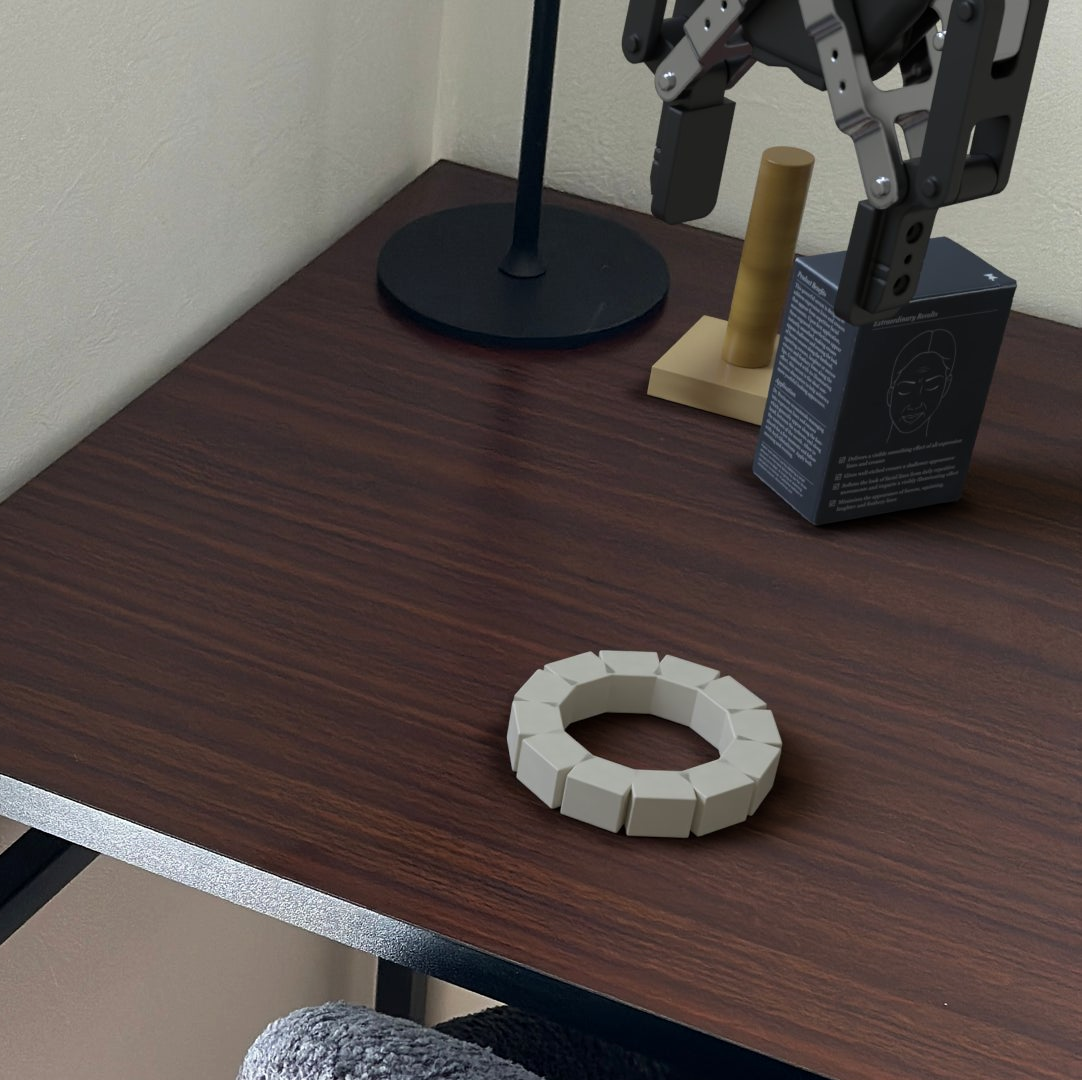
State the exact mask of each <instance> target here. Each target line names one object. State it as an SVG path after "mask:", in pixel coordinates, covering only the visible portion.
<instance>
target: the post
mask: <svg viewBox="0 0 1082 1080" xmlns="http://www.w3.org/2000/svg"><path fill="white" fill-rule="evenodd" d="M815 163H816V157H815V155H814V154H813V153H811V152H810V151H808V150H805V149H803V148H800V147H795V146H787V145H786V146H785V145H779V146H770V147H767V148H765V149H764V150H763V151H762V153H761V158H760V162H759V168H758V173H757V177H756V182H755V185H754V186H755V187H754V192H753V197H752V202H751V207H750V212H749V216H748V221H747V226H746V231H745V236H744V241H743V247H742V250H741V257H740V259H739V260H740V261H739V266H738V270H737V274H736V275H737V276H736V280H735V286H734V290H733V295H732V299H731V305H730V310H729V314H728V320H726V319H725V320H724V319H721V318H716V317H714V316H710V315H705V314H704V315H702V316H701V317H700V319H698V320H697V321H696V322H695V323H694V325H692V326H691V327H690V328H689V330H688V331H686V332H685V333H684V334H683V335H682V336H681V337H680V338H679V339H678V340H677V341H676V343H674V344H673V345H672V346H671V347H670V348H669V349H668V350H667V351H666V352H665V353H664V354H663V355H662V356H661V357H660V358H659V359H658V360H657V361H656V362H655V363H654V364H653V365H652V366H651V370H650V376H649V382H648V387H647V393H646V394H647V395H648V396H651V397H654V398H658V399H662V400H665V401H670V402H674V403H677V404H680V405H685V406H688V407H692V408H696V409H699V410H703V411H706V412H710V413H713V414H716V415H721V416H723V417H724V416H725V417H728V418H731V419H735V420H739V421H742V422H745V423H750V424H753V425H757V426H760V427H761V424H762V419H763V414H764V410H765V404H766V400H767V396H768V391H769V386H770V381H771V377H772V372H773V367H774V362H775V357H776V353H777V348H778V343H779V338H780V333H779V334H778V332H779V327H780V323H781V318H782V314H783V309H784V306H785V305H784V304H785V301H786V296H787V292H788V286H789V283H790V282H789V281H790V277H791V273H792V269H793V265H794V259H795V254H796V250H797V245H798V241H799V240H798V239H799V236H800V231H801V227H802V222H803V217H804V213H805V208H806V204H807V201H808V195H809V191H810V186H811V182H812V176H813V172H814V168H815Z"/></svg>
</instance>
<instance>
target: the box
mask: <svg viewBox="0 0 1082 1080" xmlns="http://www.w3.org/2000/svg"><path fill="white" fill-rule="evenodd" d="M846 253H847V249H846V250H840V251H834V252H827V253H826V252H825V253H819V254H813V255H805V256H799V257H796V258H795V261H794V264H793V265H794V266H793V272H792V276H791V277H792V278H791V282H790V286H789V291H788V296H787V301H786V305H785V311H784V315H783V321H782V325H781V329H780V333H779V335H780V338H779V343H778V348H777V353H776V357H775V362H774V367H773V372H772V377H771V381H770V386H769V391H768V396H767V400H766V404H765V410H764V414H763V419H762V424H761V426H760V429H759V433H758V438H757V443H756V448H755V453H754V458H753V462H752V467H751V470H752V472H753V474H754V475H755V476H756V477H758V478H759V479H760V481H761V482H762V483H764V484H766V486H767V487H769V488H770V489H771V490H772V491H773V492H774V493H776V495H778V496H779V497H780V498H781V499H783V500H784V501H785V502H786V503H787V504H788V505H789V506H791V507H792V509H793V510H795V511H796V512H797V513H798V514H800V515H801V517H802V518H803V519H805V520H807V522H809V523H811V524H812V525H813V526H823V525H827V524H832V523H838V522H843V521H850V520H854V519H860V518H864V517H865V518H866V517H872V516H877V515H880V514H881V515H883V514H888V513H893V512H898V511H904V510H910V509H916V508H921V507H927V506H933V505H937V504H938V505H939V504H944V503H945V504H946V503H950V502H957V501H959V500H960V499H961V497H962V495H963V489H964V485H965V483H966V482H965V481H966V478H967V474H968V471H969V468H970V464H971V461H972V460H971V459H972V456H973V452H974V451H973V450H974V448H975V445H976V441H977V438H978V434H979V429H980V426H981V423H982V418H983V415H984V412H985V407H986V404H987V399H988V395H989V392H990V387H991V385H992V380H993V378H994V373H995V370H996V367H997V362H998V359H999V356H1000V355H999V354H1000V350H1001V347H1002V344H1003V341H1004V336H1005V332H1006V328H1007V324H1008V320H1009V317H1010V313H1011V309H1012V306H1013V302H1014V297H1015V294H1016V291H1017V288H1018V284H1017V283H1018V282H1017V279H1015V278H1013V277H1011V276H1009V275H1007V274H1005V273H1004V272H1002V271H1001V270H999V268H996V267H995V266H993V265H992V264H990V263H989V262H987V261H986V260H985V259H983V258H982V257H981V256H979V255H977V254H975V253H974V252H973V251H971V250H970V249H968V248H966V247H964V246H963V245H962V244H960V243H958V242H956V241H954V240H953V239H952V238H949V237H947V236H945V235H943V236H937V237H930V240H929V244H928V248H927V252H926V256H925V259H924V260H923V262H924V263H923V267H922V271H921V272H920V279H919V283H918V286H917V290H916V293H915V294H914V296H913V297H912V299H911V300H910V302H909V303H908V305H907V306H903V307H901V308H900V310H899V311H898V312H897V313H896V314H895V315H894V316H892V317H891V318H888V319H884V320H881V321H877V322H873V323H869V324H865V325H861V326H857V327H856V326H852V325H851V324H849V323H847V322H845V321H843V320H842V319H840V318H838V317H836V316H835V314H834V303H835V299H836V295H837V291H838V286H839V282H840V278H841V274H842V269H843V265H844V261H845V257H846Z"/></svg>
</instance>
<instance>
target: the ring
mask: <svg viewBox="0 0 1082 1080" xmlns="http://www.w3.org/2000/svg"><path fill="white" fill-rule="evenodd" d="M767 706H768V704H767V703H766V702H765V701H764V700H762V699H761V698H760V697H758V696H757V695H756V694H754V693H753V692H752V691H750V689H748V688H746V687H745V686H744V685H743V684H741V683H740V682H738V680H736V679H735V678H733V677H732V676H731V675H726V676H722V677H721V670H717V669H715V668H711V667H708V666H705V665H702V664H699V663H696V662H692V661H689V660H686V659H683V658H680V657H677V656H674V655H671V654H666V655H665V656H664V657H663V658H662V660H661V661H660V658H659V654H658V652H656V651H633V650H603V649H601V650H599V652H598V655H597V654H595V653H594V652H592V651H587V652H583V653H579V654H576V655H573V656H570V657H567V658H562V659H560V660H556V661H553V662H550V663H547V664H545V665H544V667H543V669H540V668H539V669H537V670H536V671H535V672H534V673H533V674H532V675H531V676H530V677H529V678H528V680H527V681H526V682H525V683H524V684H523V685H522V686H521V687H520V689H518V691H517V692H516V693H515V694H514V697H513V701H512V703H511V710H510V716H509V722H508V728H507V734H506V739H507V740H506V741H507V747H508V752H509V759H510V764H511V770H512V772H514V773H515V772H516V780H518V781H519V782H520V783H522V784H523V785H524V786H525V787H526V788H527V789H528V790H530V792H532V794H534V795H535V796H536V797H537V798H539V799H540V801H542V802H543V803H544V804H545V805H547V807H549V808H550V809H551V810H554V809H557V808H560V814H561V815H563V816H567V817H569V818H572V819H574V820H577V821H580V822H582V823H586V824H587V825H592V826H594V827H597V828H600V829H603V830H606V831H609V832H611V833H614V834H617V833H618V832H619V831H620V830H621V828H622V827H623V825H624V828H625V833H626V835H627V836H628V837H657V838H681V839H688V838H689V836H690V832H691V833H692V834H694V835H695V837H702V836H704V835H707V834H711V833H713V832H716V831H720V830H722V829H726V828H728V827H730V826H731V827H732V826H735V825H736V824H740V823H743V822H745V821H746V820H747V817H748V816H750V817H751V816H753V815H754V814H755V812H756V811H757V809H758V808H759V806H760V805H761V804H762V803H763V801H764V799H765V798H766V797H767V795H768V794H769V792H770V791H771V790H772V789H773V786H774V782H775V778H776V774H777V771H778V766H779V763H780V758H781V755H782V747H783V741H782V738H781V734H780V731H779V728H778V726H777V723H776V720H775V717H774V714H773V711H772V710H771V709H767ZM604 713H617V714H619V713H621V714H644V715H645V714H646V715H647V714H648V715H651V716H652V715H653V716H656V717H658V718H661V719H664V720H667V721H670V722H673V723H676V724H680V725H683V726H686V727H689V728H690V729H691V730H693V731H694V732H695V733H696V734H698V735H699V736H700V737H701V738H703V739H704V740H705V741H706V742H707V743H709V744H710V745H711V746H713V747H714V748H716V750H718V753H719V756H720V757H719V758H718V759H715V760H712V761H709V762H705V763H702V764H699V765H697V766H694V767H691V768H687V769H685V770H682V771H681V770H658V769H657V770H653V769H635V768H631V767H628V766H625V765H623V764H620V763H617V762H614V761H611V760H608V759H605V758H603V757H599V756H597V755H594V754H592V753H591V752H590V751H589V750H587V749H586V748H585V747H584V746H583V745H581V744H580V743H579V742H578V741H576V739H575V738H573V737H572V736H571V735H570V734H569V733H567V732H566V729H567V727H569V726H570V724H572V723H576V722H578V721H581V720H582V721H583V720H585V719H589V718H591V717H594V716H598V715H602V714H604Z"/></svg>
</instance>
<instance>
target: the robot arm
mask: <svg viewBox="0 0 1082 1080" xmlns="http://www.w3.org/2000/svg"><path fill="white" fill-rule="evenodd" d="M1049 4H1050V0H675V1H674V5H673V11H672V15H671V16H670V17H666V18H665V13H666V9H667V5H668V0H629V1H628V6H627V11H626V16H625V21H624V26H623V32H622V36H621V51H622V53H623V57H624V58H625V59H626V61H627V62H628V63H629V64H632V65H637V64H643V63H644V65H645V66H646V67H647V68H648V69H649V71H650V72H651V73H652V74H653V75H654V80H653V81H654V89H655V92H656V94H657V96H658V98H660V99H661V100H662V106H661V111H660V118H659V123H658V129H657V135H656V140H655V145H654V146H655V148H654V152H653V157H652V158H653V160H652V163H651V169H650V174H649V183H650V185H649V186H650V195H651V196H652V197H651V203H650V212H651V215H652V216H653V217H655V218H656V219H658V220H660V221H662V222H663V223H665V224H667V225H669V226H675V225H679V224H684V223H687V222H692V221H696V220H701V219H704V218H707V217H709V215H710V214H711V213H713V211H714V209H715V207H716V206H717V202H718V199H719V198H718V197H719V193H720V189H721V188H720V187H721V183H722V178H723V177H722V176H723V172H724V168H725V167H724V166H725V162H726V156H727V152H728V147H729V141H730V138H731V137H730V136H731V132H732V131H731V130H732V125H733V121H734V116H735V110H736V106H737V102H736V101H735V100H732V99H730V98H728V97H726V96H725V93H726V91H729V90H731V89H733V88H734V87H735V86H736V85H737V84H738V83H739V82H740V80H742V78H743V77H744V76H745V75H746V74H747V73H748V72H749V71H750V69H752V67H753V66H754V65H755V64H756V63H757V62H758V63H761V64H763V65H765V66H767V67H776V68H787V69H789V70H790V71H791V72H792V73H793V74H794V75H795V76H796V77H797V78H798V79H799V80H800V81H801V82H802V83H804V84H805V85H807V86H810V87H812V88H814V89H816V90H818V91H820V92H827V95H828V100H829V103H830V108H831V112H832V116H833V120H834V123H835V126H836V128H837V129H838V130H839V131H840V132H841V133H842V134H844V135H847V136H849V137H850V139H851V141H852V143H853V145H854V151H855V154H856V160H857V164H858V166H859V172H860V175H861V179H862V183H863V187H864V191H865V196H866V198H867V199H863V200H858V202H857V206H856V211H855V213H854V214H855V215H854V218H853V223H852V228H851V232H850V235H849V241H848V243H847V249H846V250H847V253H846V257H845V261H844V265H843V269H842V274H841V278H840V282H839V286H838V291H837V295H836V299H835V303H834V314H835V316H836V317H838V318H840V319H842V320H843V321H845V322H847V323H849V324H851V325H852V326H856V327H857V326H861V325H865V324H869V323H873V322H877V321H881V320H884V319H888V318H891V317H892V316H894V315H895V314H896V313H897V312H898V311H899V310H900V308H901V307H903V306H907V305H908V303H909V302H910V300H911V299H912V297H913V296H914V294H915V293H916V290H917V286H918V283H919V279H920V272H921V271H922V267H923V263H924V262H923V260H924V259H925V256H926V252H927V248H928V244H929V240H930V238H931V237H932V231H933V230H934V229H933V228H934V225H935V221H936V216H937V213H938V211H939V210H940V209H942V208H945V207H949V206H954V205H958V204H962V203H967V202H970V201H971V202H972V201H975V200H979V199H984V198H988V197H991V196H995V195H999V194H1001V193H1002V192H1003V191H1004V190H1006V187H1007V186H1008V183H1009V181H1010V177H1011V172H1012V167H1013V164H1014V159H1015V155H1016V151H1017V146H1018V141H1019V138H1020V133H1021V129H1022V124H1023V119H1024V115H1025V111H1026V106H1027V101H1028V98H1029V93H1030V88H1031V84H1032V80H1033V75H1034V71H1035V67H1036V61H1037V57H1038V53H1039V49H1040V45H1041V39H1042V35H1043V30H1044V27H1045V26H1044V25H1045V23H1046V22H1045V21H1046V17H1047V13H1048V8H1049ZM939 21H940V23H941V31H938V25H937V24H938V23H939ZM897 65H898V66H899V71H900V74H901V79H902V87H897V88H893V89H888V90H883V89H881V88H879V87H878V86H876V85H875V83H874V82H875V81H877V80H880V79H881V78H884V77H885V76H886V75H887V74H889V73H891V71H892V70H893V69H895V67H896V66H897ZM896 125H898V126H899V127H900V128H901V130H902V132H903V133H902V134H903V137H904V140H905V145H906V150H907V153H908V157H909V158H908V159H903V155H902V151H901V147H900V143H899V138H898V134H897V129H896ZM973 129H974V130H973ZM972 132H973V135H972ZM971 137H972V139H971ZM970 142H971V144H970ZM969 146H970V149H969ZM968 151H969V152H968Z"/></svg>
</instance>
